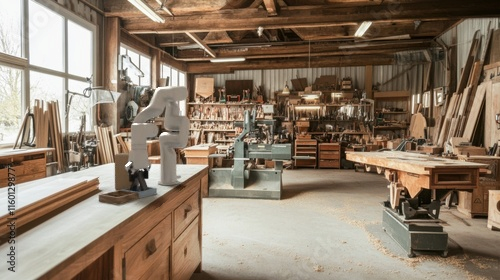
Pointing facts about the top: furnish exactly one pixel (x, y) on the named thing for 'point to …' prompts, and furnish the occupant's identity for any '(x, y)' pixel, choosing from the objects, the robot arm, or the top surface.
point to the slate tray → (143, 193)
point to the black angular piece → (141, 179)
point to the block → (122, 172)
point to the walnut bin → (114, 196)
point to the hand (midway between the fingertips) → (139, 180)
